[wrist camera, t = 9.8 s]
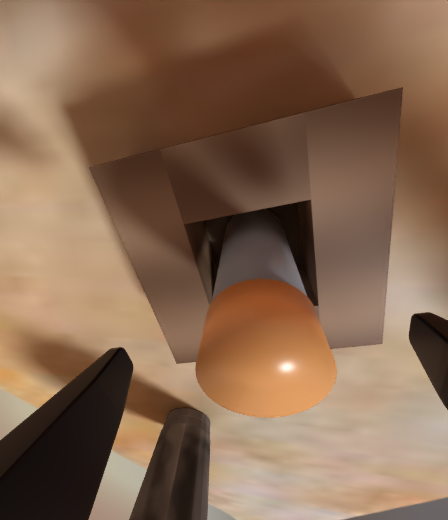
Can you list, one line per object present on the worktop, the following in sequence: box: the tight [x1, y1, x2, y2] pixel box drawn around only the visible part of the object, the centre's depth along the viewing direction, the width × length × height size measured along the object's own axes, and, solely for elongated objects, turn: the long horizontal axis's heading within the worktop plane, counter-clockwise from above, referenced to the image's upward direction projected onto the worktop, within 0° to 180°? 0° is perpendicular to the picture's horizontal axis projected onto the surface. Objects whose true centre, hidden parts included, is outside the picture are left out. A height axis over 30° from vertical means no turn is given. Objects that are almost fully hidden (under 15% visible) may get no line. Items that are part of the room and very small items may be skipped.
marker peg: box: [196, 209, 337, 417], centre depth 11 cm, size 4×4×10 cm
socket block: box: [89, 87, 403, 364], centre depth 14 cm, size 12×12×4 cm
